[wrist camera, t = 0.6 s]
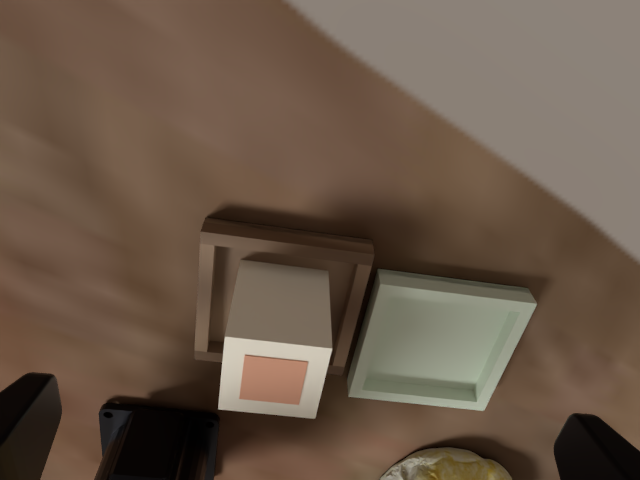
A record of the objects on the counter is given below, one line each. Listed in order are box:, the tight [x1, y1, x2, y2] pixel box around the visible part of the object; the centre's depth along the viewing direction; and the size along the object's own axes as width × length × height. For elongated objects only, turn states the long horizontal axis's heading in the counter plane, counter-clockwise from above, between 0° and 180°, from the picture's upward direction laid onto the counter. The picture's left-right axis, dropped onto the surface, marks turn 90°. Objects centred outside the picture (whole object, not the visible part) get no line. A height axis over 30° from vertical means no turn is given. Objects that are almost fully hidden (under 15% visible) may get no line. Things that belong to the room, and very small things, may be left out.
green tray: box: [347, 269, 537, 411], centre depth 26 cm, size 7×7×1 cm
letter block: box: [218, 260, 332, 419], centre depth 22 cm, size 4×4×5 cm
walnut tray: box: [194, 217, 375, 375], centre depth 24 cm, size 7×7×1 cm
